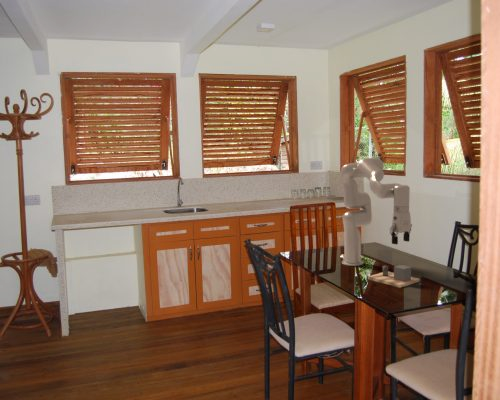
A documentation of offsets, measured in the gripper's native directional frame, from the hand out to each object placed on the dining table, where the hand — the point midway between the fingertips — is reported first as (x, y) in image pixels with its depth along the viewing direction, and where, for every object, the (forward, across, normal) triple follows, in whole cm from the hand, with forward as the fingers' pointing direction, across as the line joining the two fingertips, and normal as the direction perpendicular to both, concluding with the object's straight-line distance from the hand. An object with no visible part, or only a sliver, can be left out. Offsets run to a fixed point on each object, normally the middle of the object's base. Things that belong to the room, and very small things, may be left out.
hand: (400, 242), depth 247 cm
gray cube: (+19, -1, -2) cm, 19 cm away
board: (+21, -1, +3) cm, 21 cm away
